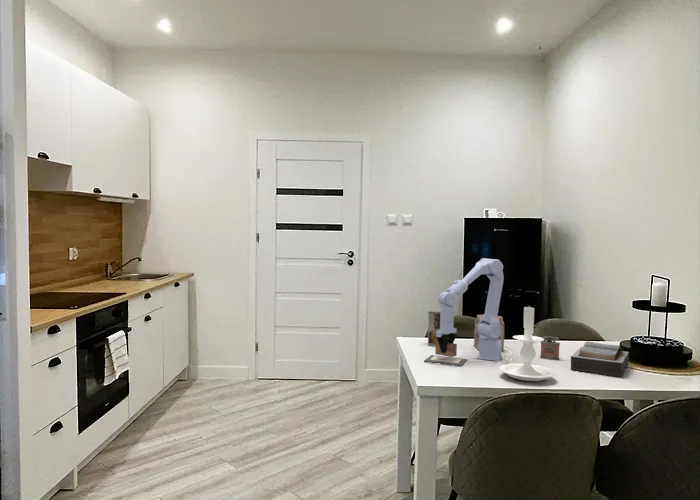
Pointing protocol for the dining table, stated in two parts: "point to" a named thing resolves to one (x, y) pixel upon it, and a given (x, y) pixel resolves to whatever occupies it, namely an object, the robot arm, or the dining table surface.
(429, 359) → the picture frame
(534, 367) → the candlestick
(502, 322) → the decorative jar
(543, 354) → the lighter
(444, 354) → the card box
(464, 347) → the dining table surface
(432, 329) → the coffee box
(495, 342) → the robot arm
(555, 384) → the dining table surface
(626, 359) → the bible
